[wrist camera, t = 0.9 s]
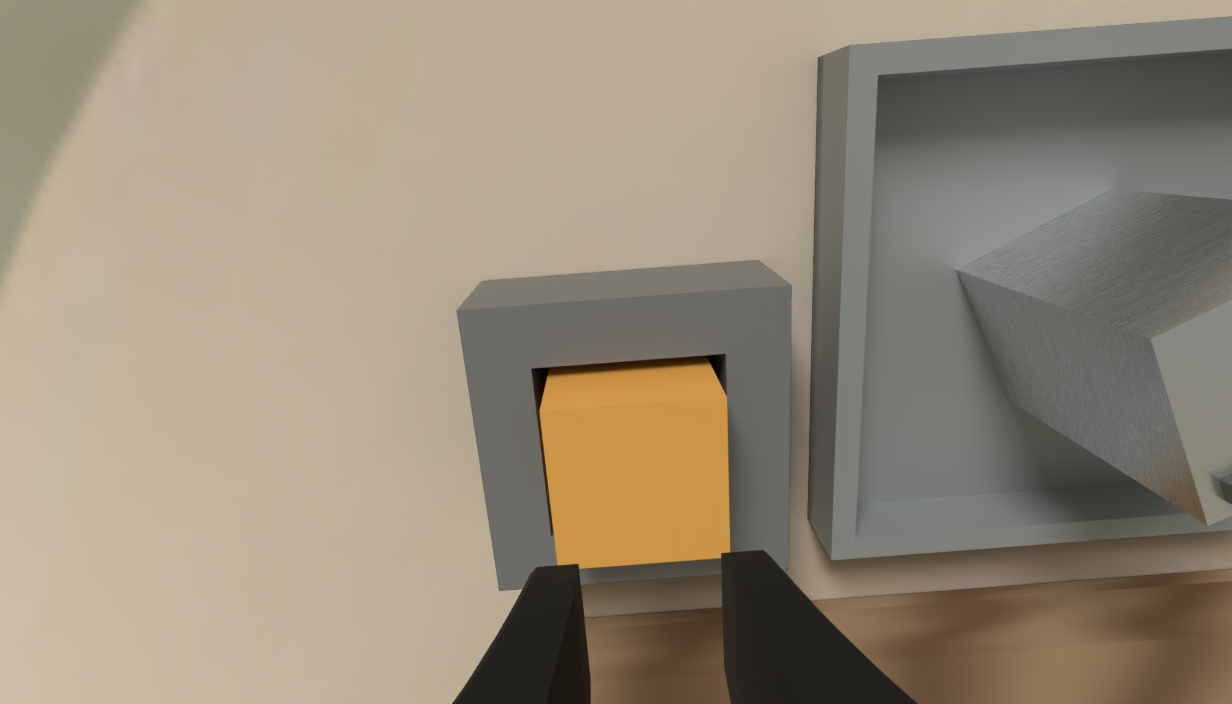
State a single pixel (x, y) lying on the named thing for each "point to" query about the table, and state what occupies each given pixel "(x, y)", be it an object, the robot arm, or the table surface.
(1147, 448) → the block
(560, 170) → the table surface
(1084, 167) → the tray
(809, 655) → the robot arm
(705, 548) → the button
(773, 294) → the button housing
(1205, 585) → the wooden pocket board
